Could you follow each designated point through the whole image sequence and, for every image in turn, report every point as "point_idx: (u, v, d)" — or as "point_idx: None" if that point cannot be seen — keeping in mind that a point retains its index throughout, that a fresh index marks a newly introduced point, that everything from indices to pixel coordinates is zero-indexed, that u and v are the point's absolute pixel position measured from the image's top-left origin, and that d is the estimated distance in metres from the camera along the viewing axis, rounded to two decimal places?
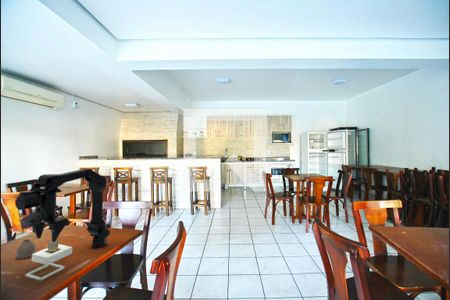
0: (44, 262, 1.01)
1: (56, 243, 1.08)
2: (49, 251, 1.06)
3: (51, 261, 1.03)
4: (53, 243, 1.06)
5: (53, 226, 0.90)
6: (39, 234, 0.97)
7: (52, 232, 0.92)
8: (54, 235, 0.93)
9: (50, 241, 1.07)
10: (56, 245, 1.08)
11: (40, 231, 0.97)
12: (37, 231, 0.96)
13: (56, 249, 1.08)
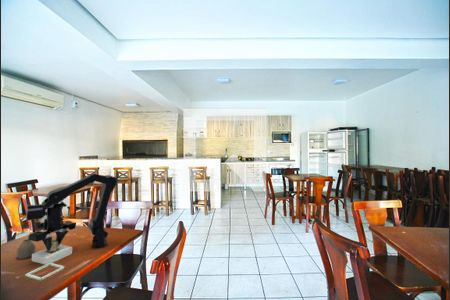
0: (44, 262, 1.01)
1: (56, 243, 1.08)
2: (49, 251, 1.06)
3: (51, 261, 1.03)
4: (53, 243, 1.06)
5: None
6: None
7: None
8: (45, 244, 1.05)
9: None
10: (56, 245, 1.08)
11: (58, 241, 1.10)
12: None
13: (56, 249, 1.08)
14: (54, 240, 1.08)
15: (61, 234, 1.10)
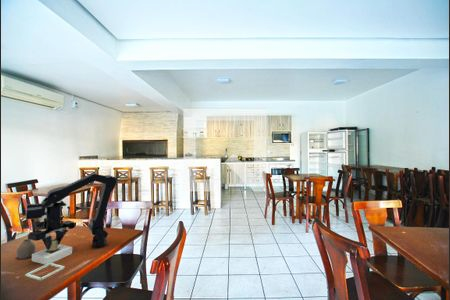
0: (44, 262, 1.01)
1: (56, 242, 1.08)
2: (49, 250, 1.06)
3: (51, 261, 1.03)
4: (53, 242, 1.07)
5: None
6: None
7: None
8: (44, 243, 1.05)
9: None
10: (56, 244, 1.08)
11: (58, 240, 1.10)
12: None
13: (56, 248, 1.08)
14: (54, 239, 1.08)
15: (61, 233, 1.10)
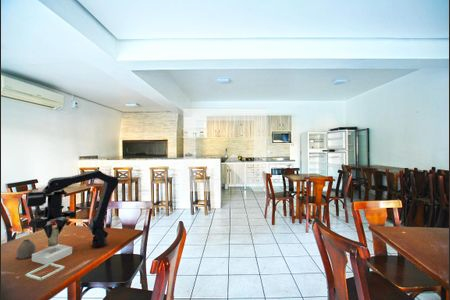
0: (44, 262, 1.01)
1: (56, 231, 1.07)
2: (49, 239, 1.06)
3: (51, 261, 1.03)
4: (53, 231, 1.06)
5: None
6: None
7: None
8: (45, 231, 1.05)
9: None
10: (56, 233, 1.07)
11: None
12: None
13: (56, 237, 1.08)
14: (54, 228, 1.08)
15: (61, 222, 1.10)
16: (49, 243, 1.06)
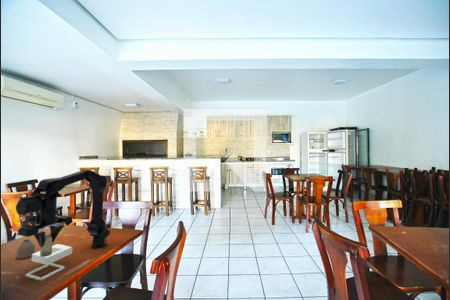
0: (44, 262, 1.01)
1: (50, 239, 0.95)
2: (42, 248, 0.94)
3: (51, 261, 1.03)
4: (46, 239, 0.94)
5: None
6: None
7: None
8: (37, 240, 0.93)
9: None
10: (50, 241, 0.95)
11: None
12: None
13: (50, 245, 0.95)
14: (48, 235, 0.96)
15: (56, 229, 0.98)
16: (41, 253, 0.94)
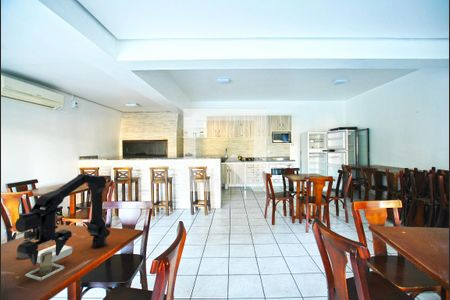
0: None
1: (49, 256, 0.95)
2: (41, 266, 0.94)
3: None
4: (46, 257, 0.94)
5: None
6: (56, 251, 1.00)
7: None
8: (30, 258, 0.90)
9: (43, 254, 0.95)
10: (49, 259, 0.95)
11: (58, 249, 1.00)
12: (56, 248, 1.00)
13: (49, 263, 0.95)
14: (47, 253, 0.96)
15: (61, 242, 1.00)
16: (41, 271, 0.94)
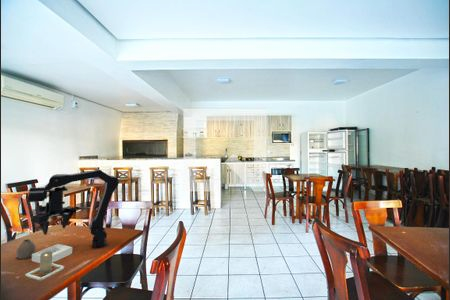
0: None
1: (49, 256, 0.95)
2: (41, 266, 0.94)
3: None
4: (46, 257, 0.94)
5: None
6: (63, 224, 1.15)
7: None
8: (42, 228, 1.05)
9: (43, 254, 0.95)
10: (49, 259, 0.95)
11: (64, 222, 1.15)
12: (63, 221, 1.15)
13: (49, 263, 0.95)
14: (47, 253, 0.96)
15: (67, 216, 1.15)
16: (41, 271, 0.94)
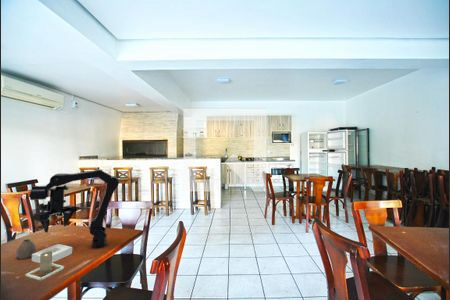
0: None
1: (49, 256, 0.95)
2: (41, 266, 0.94)
3: None
4: (46, 257, 0.94)
5: None
6: (64, 223, 1.17)
7: None
8: (43, 226, 1.08)
9: (43, 254, 0.95)
10: (49, 259, 0.95)
11: (65, 221, 1.17)
12: (64, 220, 1.17)
13: (49, 263, 0.95)
14: (47, 253, 0.96)
15: (68, 214, 1.17)
16: (41, 271, 0.94)
